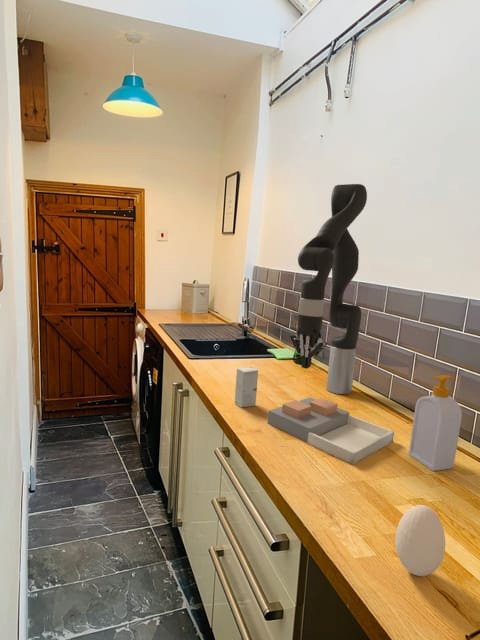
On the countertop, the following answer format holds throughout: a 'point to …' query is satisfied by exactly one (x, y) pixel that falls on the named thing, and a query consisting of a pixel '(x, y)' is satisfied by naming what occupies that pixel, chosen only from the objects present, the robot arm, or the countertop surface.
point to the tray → (353, 440)
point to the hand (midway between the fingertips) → (305, 367)
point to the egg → (420, 540)
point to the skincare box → (246, 387)
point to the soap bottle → (436, 428)
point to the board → (307, 421)
